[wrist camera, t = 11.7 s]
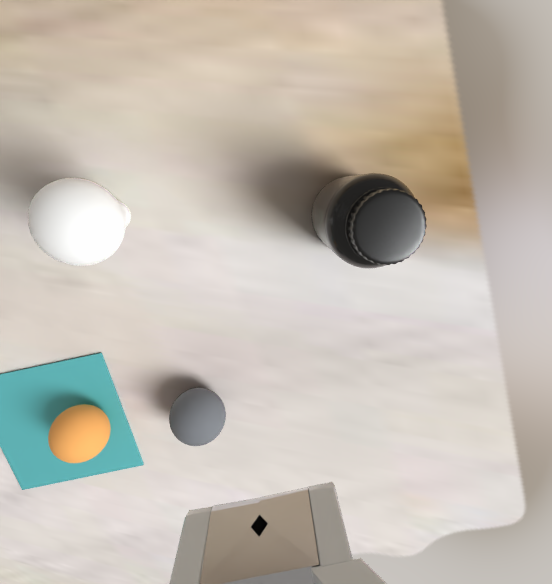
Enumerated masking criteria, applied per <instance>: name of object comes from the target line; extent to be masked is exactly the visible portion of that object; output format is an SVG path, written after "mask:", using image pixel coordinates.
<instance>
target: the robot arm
mask: <svg viewBox="0 0 552 584" xmlns="http://www.w3.org/2000/svg"><path fill="white" fill-rule="evenodd" d="M170 584H386V582H385V581H384V580H383V579H381V577H380V576H379V575H377V574H376V573H375V572H374V571H373V570H372V569H371V568H370V567H369V566H368V565H367V564H366V563H365V562H364V561H363V560H362V559H361V558H360V559H354V560H353V559H352V555H351V551H350V547H349V542H348V538H347V534H346V530H345V526H344V522H343V518H342V514H341V510H340V506H339V502H338V497H337V493H336V489H335V485H334V484H333V482H329V483H324V484H320V485H315V486H310V487H309V488H308V487H306V488H301V489H297V490H292V491H287V492H283V493H278V494H273V495H268V496H264V497H261V498H255V499H249V500H244V501H238V502H232V503H226V504H220V505H215V506H213V507H207V508H201V509H195V510H189V512H188V514H187V515H186V517H185V520H184V524H183V528H182V533H181V537H180V541H179V545H178V550H177V554H176V558H175V563H174V567H173V571H172V575H171V580H170Z"/></svg>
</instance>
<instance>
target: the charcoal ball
mask: <svg viewBox="0 0 552 584" xmlns="http://www.w3.org/2000/svg"><path fill="white" fill-rule="evenodd" d="M225 418H226V412H225V407H224V404H223V402H222V400H221V399H220V397H219V396H218V395H217V394H216V393H214V392H213V391H211V390H209V389H205V388H193V389H190V390H187V391H186V392H184V393H182V394H181V395H180V396H179V397H178V398H177V399H176V400H175V402H174V403H173V405H172V407H171V411H170V416H169V422H170V427H171V430H172V432H173V434H174V435H175V436H176V438H177V439H178V440H180V441H181V442H183V443H184V444H187V445H191V446H200V445H205V444H207V443H209V442H211V441H212V440H214V439H215V438H216V437H217V436H218V435H219V433H220V432H221V430H222V428H223V426H224V423H225Z"/></svg>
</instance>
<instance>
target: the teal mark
mask: <svg viewBox="0 0 552 584" xmlns="http://www.w3.org/2000/svg"><path fill="white" fill-rule="evenodd" d="M81 404H88V405H93V406H96V407H98V408H100V409H101V410H102V411H103V412H104V413H105V414H106V415H107V417H108V419H109V422H110V427H111V430H110V437H109V440H108V442H107V444H106V446H105V447H104V448H103V450H102V451H101V452H100V453H99V454H98V455H96V456H95V457H93V458H92V459H90V460H88V461H85V462H81V463H67V462H64V461H62V460H60V459H58V458H57V457H56V456H55V455H54V454H53V453H52V451H51V449H50V447H49V443H48V435H49V430H50V427H51V425H52V423H53V422H54V420H55V419H56V418H57V417H58V416H59V415H60V414H61V413H62V412H63V411H65V410H66V409H68V408H70V407H72V406H76V405H81ZM0 447H1V449H2V451H3V453H4V455H5V457H6V458H7V460H8V462H9V464H10V466H11V468H12V470H13V472H14V474H15V476H16V478H17V480H18V482H19V484H20V486H21V488H22V490H24V489H29V488H34V487H39V486H44V485H49V484H54V483H58V482H63V481H68V480H73V479H78V478H83V477H88V476H93V475H97V474H102V473H107V472H112V471H117V470H122V469H127V468H131V467H136V466H141V465H143V464H144V463H143V461H142V458H141V456H140V453H139V450H138V448H137V445H136V442H135V440H134V437H133V434H132V432H131V429H130V426H129V424H128V421H127V418H126V416H125V413H124V411H123V408H122V405H121V403H120V400H119V397H118V395H117V392H116V389H115V387H114V384H113V381H112V379H111V376H110V373H109V371H108V368H107V366H106V363H105V360H104V358H103V355H102V353H97V354H92V355H88V356H83V357H78V358H74V359H69V360H64V361H59V362H55V363H50V364H45V365H41V366H36V367H31V368H26V369H22V370H17V371H12V372H8V373H3V374H0Z"/></svg>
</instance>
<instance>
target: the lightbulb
mask: <svg viewBox="0 0 552 584" xmlns="http://www.w3.org/2000/svg"><path fill="white" fill-rule="evenodd" d="M130 220H131V213H130V210H129V208H128V207H127V206H126V205H125V204H124V203H122V202H120V201H117V199H116V198H115V197H114V196H113V195H112V194H111V193H110V192H109V191H108V190H106V189H105V188H104V187H102V186H101V185H99V184H97V183H95V182H93V181H90V180H86V179H82V178H63V179H59V180H56V181H53V182H51V183H49V184H47V185H46V186H44V187H43V188H42V189H41V190H40V191H39V192H38V193H37V194H36V195H35V196H34V198H33V199H32V201H31V203H30V206H29V209H28V226H29V229H30V232H31V235H32V237H33V239H34V241H35V242H36V243H37V245H38V246H39V247H40V248H41V249H42V250H43V251H44V252H45V253H46V254H47V255H49V256H50V257H52V258H53V259H55V260H58V261H60V262H63V263H66V264H70V265H79V266H85V265H93V264H96V263H99V262H101V261H103V260H105V259H107V258H109V257H110V256H111V255H112V254H113V253H114V252H116V250H117V249H118V247H119V246H120V244H121V243H122V240H123V238H124V235H125V229H126V226H127V225H128V224H129V223H130Z"/></svg>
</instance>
